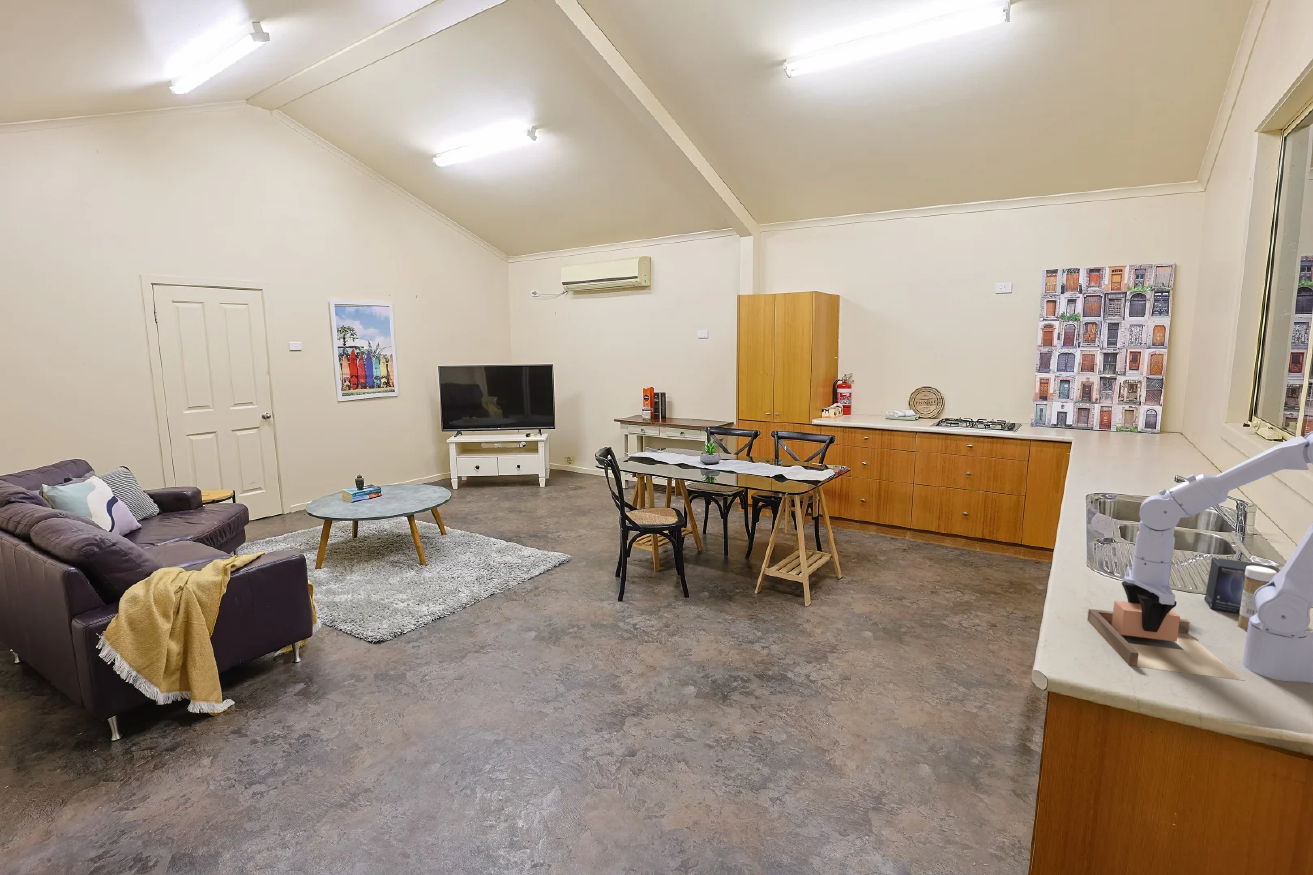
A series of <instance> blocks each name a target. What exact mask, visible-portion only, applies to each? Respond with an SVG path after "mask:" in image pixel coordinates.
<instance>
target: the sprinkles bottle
mask: <svg viewBox="0 0 1313 875" xmlns="http://www.w3.org/2000/svg"><path fill="white" fill-rule="evenodd" d="M1276 574H1277V572H1276V571H1274V570H1272V569H1269V568H1265V567H1260V566H1247V567H1246V570H1245V575H1246V576H1245V584H1244V589H1243V594H1242V601H1241V607H1240V614H1239V616H1238V622H1237V623H1238V624H1237V625H1236V627H1239V628H1240V629H1241V630H1243V631H1245V632H1246V633H1247V630H1248V624H1249V618H1250V617H1252V616H1254V615H1255V614H1256V613H1257V611H1258V610H1257V607H1256V605H1255V603H1254V599H1253V597H1254V593H1255V592H1256V590H1257V589H1258V588H1260V587H1261V586H1264V585H1266V584H1268V583H1269V582H1270V581H1271V580H1272V578H1273V577H1274V575H1276Z"/></svg>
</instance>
